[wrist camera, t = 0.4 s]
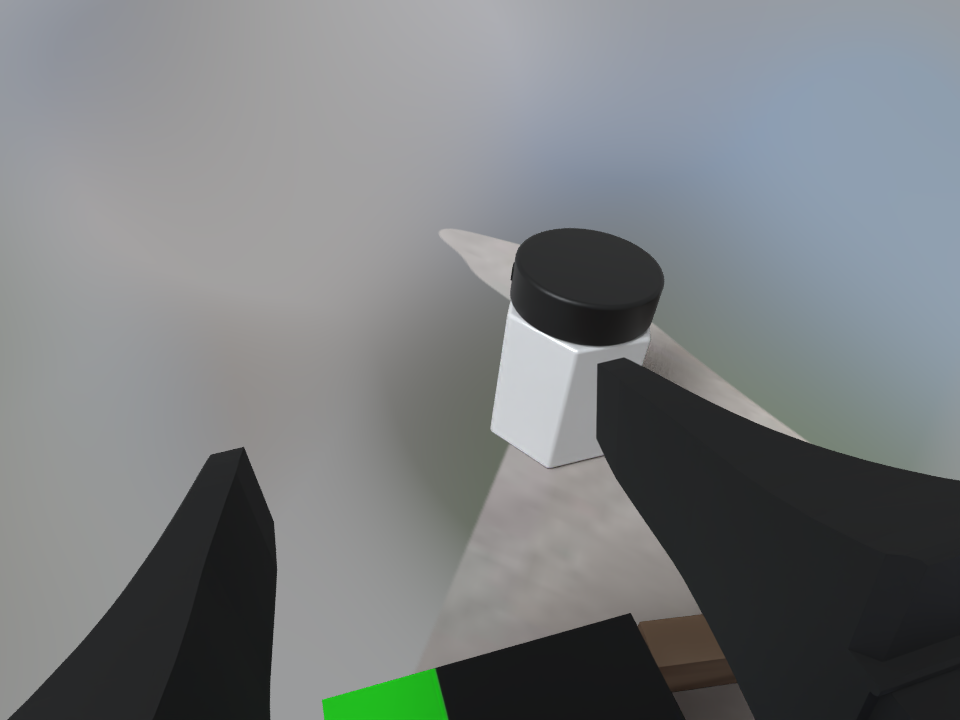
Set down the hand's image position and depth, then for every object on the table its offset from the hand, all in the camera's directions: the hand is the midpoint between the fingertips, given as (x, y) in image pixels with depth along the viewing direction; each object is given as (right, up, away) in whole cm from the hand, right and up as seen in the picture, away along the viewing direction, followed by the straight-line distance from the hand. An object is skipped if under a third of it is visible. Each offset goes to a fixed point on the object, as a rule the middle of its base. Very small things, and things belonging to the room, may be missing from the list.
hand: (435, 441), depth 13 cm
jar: (+6, -2, +29) cm, 29 cm away
